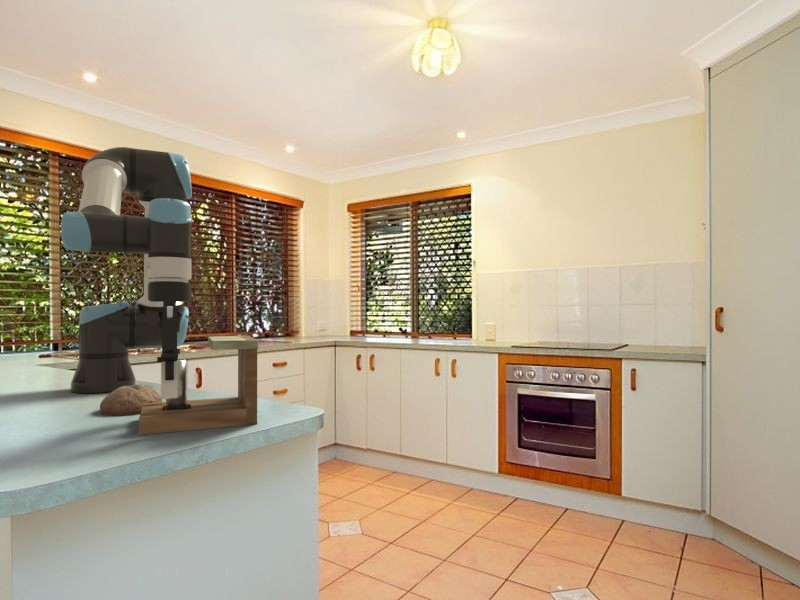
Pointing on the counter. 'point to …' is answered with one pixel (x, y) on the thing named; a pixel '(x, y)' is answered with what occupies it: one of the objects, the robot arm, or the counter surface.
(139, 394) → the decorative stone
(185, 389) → the peg
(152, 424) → the socket station
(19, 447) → the counter surface
